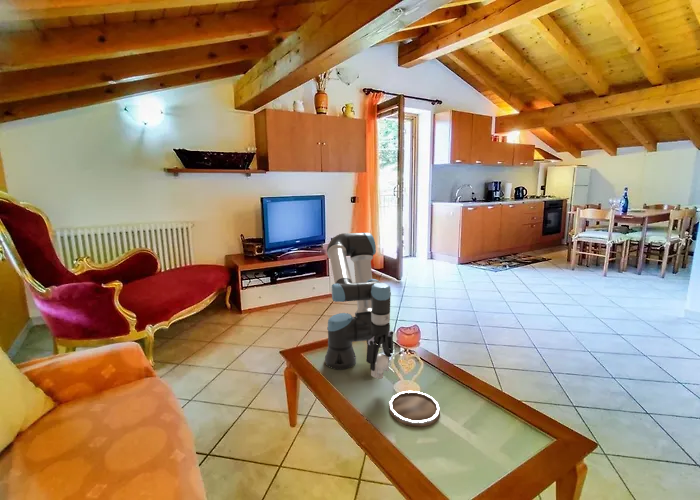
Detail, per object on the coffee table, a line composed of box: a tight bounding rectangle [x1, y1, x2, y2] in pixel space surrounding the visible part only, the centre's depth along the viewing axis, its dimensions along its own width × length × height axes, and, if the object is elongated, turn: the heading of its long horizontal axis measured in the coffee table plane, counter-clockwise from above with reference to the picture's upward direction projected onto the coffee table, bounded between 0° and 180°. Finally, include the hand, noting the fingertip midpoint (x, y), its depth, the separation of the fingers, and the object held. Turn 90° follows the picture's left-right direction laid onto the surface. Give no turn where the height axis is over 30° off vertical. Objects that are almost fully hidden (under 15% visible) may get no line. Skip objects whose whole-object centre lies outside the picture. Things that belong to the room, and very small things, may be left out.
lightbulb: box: [376, 353, 388, 380], centre depth 146 cm, size 6×6×11 cm
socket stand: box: [388, 390, 441, 428], centre depth 136 cm, size 19×19×2 cm
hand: (379, 373), depth 147 cm, fingers closed on lightbulb, 6 cm apart
